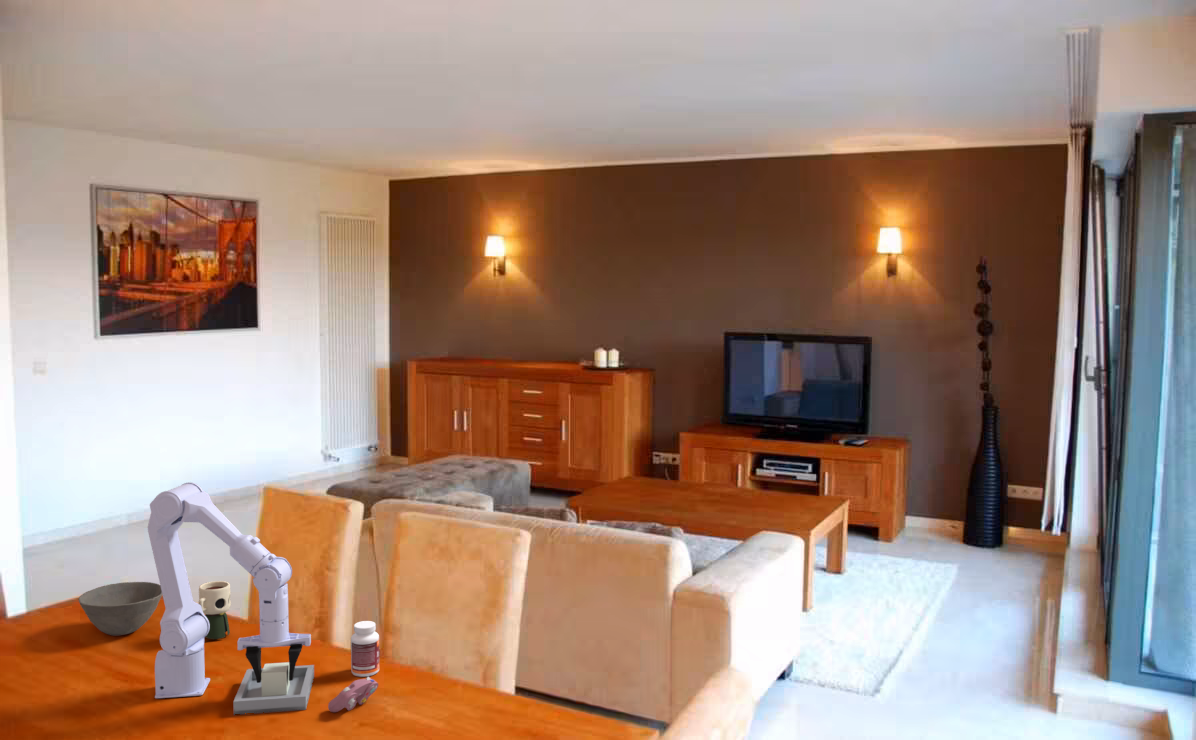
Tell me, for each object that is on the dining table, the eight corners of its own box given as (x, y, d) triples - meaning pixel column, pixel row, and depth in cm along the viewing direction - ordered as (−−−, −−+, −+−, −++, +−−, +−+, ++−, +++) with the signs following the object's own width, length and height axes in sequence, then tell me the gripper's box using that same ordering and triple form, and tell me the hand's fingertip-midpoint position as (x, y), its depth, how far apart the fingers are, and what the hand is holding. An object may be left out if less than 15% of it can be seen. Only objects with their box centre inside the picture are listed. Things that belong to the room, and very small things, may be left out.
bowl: (142, 647, 223) (141, 606, 222) (64, 646, 223) (62, 605, 222) (178, 619, 241) (177, 581, 240) (106, 617, 242) (104, 580, 241)
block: (261, 696, 196) (261, 673, 195) (265, 686, 201) (264, 663, 200) (286, 694, 197) (286, 671, 196) (289, 684, 201) (289, 662, 201)
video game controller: (338, 723, 189) (349, 697, 187) (324, 709, 191) (335, 683, 189) (374, 705, 198) (384, 680, 195) (360, 691, 199) (370, 666, 197)
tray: (233, 714, 189) (233, 701, 189) (247, 681, 205) (247, 669, 204) (305, 709, 192) (305, 696, 191) (314, 677, 207) (313, 664, 207)
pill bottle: (383, 673, 209) (383, 626, 208) (356, 680, 206) (356, 631, 205) (373, 664, 215) (373, 617, 214) (347, 670, 211) (346, 622, 210)
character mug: (213, 646, 223) (211, 594, 222) (188, 643, 225) (186, 590, 224) (242, 630, 234) (241, 580, 233) (218, 627, 236) (217, 577, 235)
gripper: (312, 608, 202) (313, 669, 203) (241, 612, 199) (242, 674, 200) (308, 620, 195) (309, 683, 196) (234, 624, 192) (236, 688, 193)
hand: (275, 679), depth 198 cm, fingers open, 6 cm apart
